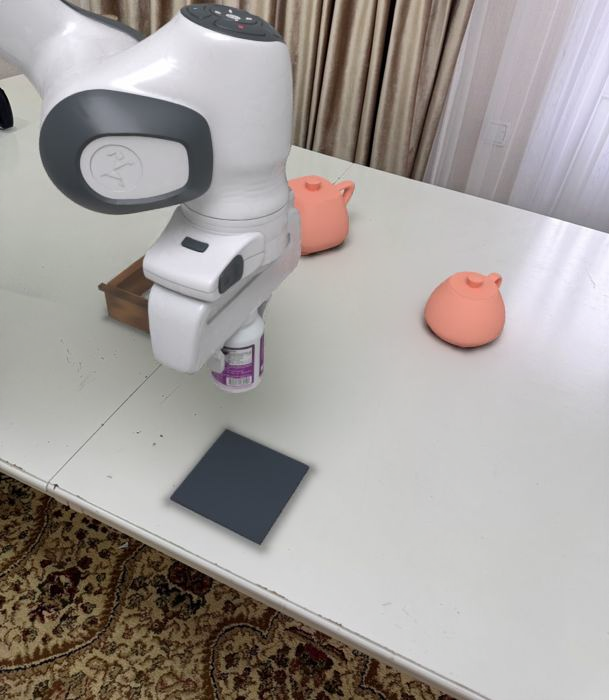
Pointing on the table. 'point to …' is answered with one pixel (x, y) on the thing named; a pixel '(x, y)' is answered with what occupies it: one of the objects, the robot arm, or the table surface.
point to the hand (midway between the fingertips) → (236, 347)
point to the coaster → (241, 485)
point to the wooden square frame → (129, 296)
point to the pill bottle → (243, 357)
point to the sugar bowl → (467, 309)
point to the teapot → (321, 211)
